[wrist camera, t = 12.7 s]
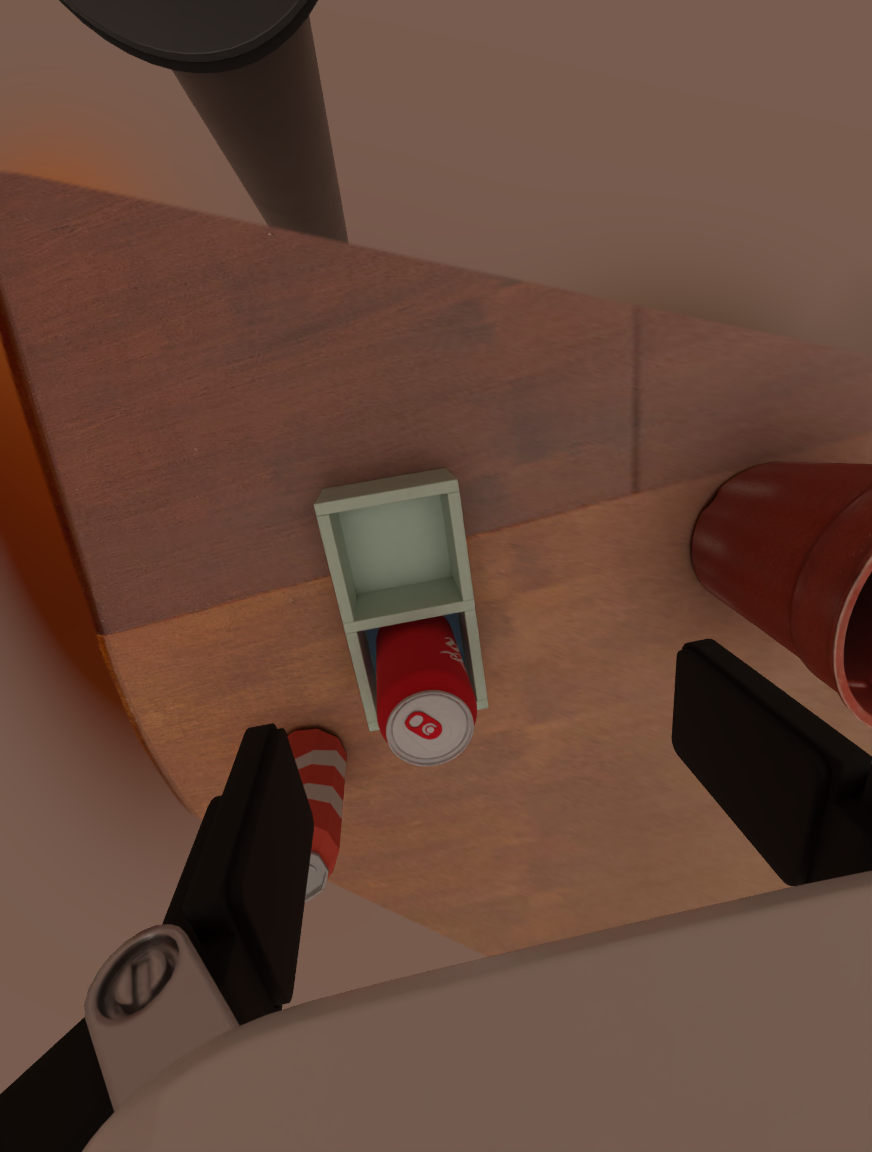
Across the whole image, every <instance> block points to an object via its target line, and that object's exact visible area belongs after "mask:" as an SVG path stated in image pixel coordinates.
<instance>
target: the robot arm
mask: <svg viewBox="0 0 872 1152" xmlns="http://www.w3.org/2000/svg"><path fill="white" fill-rule="evenodd" d="M672 744H673V747H674V749H675V751H676V753H677V755H678V756H679V757H680V758H681V760H682V761H683V762H684V763H685V764H686V766H687V767H688V768H689V769H690V770H691V772H692V773H693V774H694V775H695V776H696V778H697V779H698V780H699V781H700V782H701V784H702V785H703V786H704V787H705V788H706V790H707V791H708V792H709V793H710V794H711V796H712V797H713V798H714V799H715V800H716V802H717V803H718V804H719V805H720V806H721V808H722V809H723V810H724V811H725V812H726V814H727V815H728V816H729V817H730V818H731V820H732V821H733V822H734V823H735V824H736V826H737V827H738V828H739V829H740V830H741V832H742V833H743V834H744V835H745V836H746V838H747V839H748V840H749V841H750V842H751V844H752V845H753V846H754V847H755V848H756V850H757V851H758V852H759V853H760V854H761V856H762V857H763V858H764V859H765V860H766V862H767V863H768V864H769V865H770V866H771V868H772V869H773V870H774V871H775V872H776V874H777V875H778V876H779V877H780V878H781V879H782V880H783V881H784V882H785V883H786V884H787V885H790V886H794V887H790V888H785V889H781V890H777V891H772V892H768V893H763V894H759V895H754V896H750V897H745V898H741V899H737V900H732V901H728V902H723V903H719V904H714V905H710V906H706V907H701V908H697V909H692V910H688V911H683V912H679V913H675V914H670V915H666V916H662V917H657V918H653V919H649V920H644V921H640V922H636V923H631V924H627V925H623V926H618V927H614V928H610V929H605V930H601V931H597V932H592V933H588V934H584V935H580V936H575V937H571V938H567V939H562V940H558V941H554V942H549V943H545V944H541V945H537V946H532V947H528V948H524V949H520V950H515V951H511V952H507V953H503V954H499V955H494V956H490V957H486V958H482V959H478V960H473V961H470V962H465V963H461V964H457V965H452V966H449V967H444V968H440V969H436V970H432V971H427V972H423V973H419V974H415V975H411V976H407V977H403V978H398V979H394V980H390V981H386V982H382V983H379V984H375V985H371V986H367V987H363V988H359V989H355V990H351V991H348V992H344V993H340V994H336V995H332V996H328V997H324V998H320V999H317V1000H313V1001H309V1002H306V1003H303V1004H300V1005H297V1006H293V1007H290V1008H287V1009H284V1010H282V1004H286V1003H290V1001H291V999H292V995H293V989H294V981H295V973H296V965H297V957H298V950H299V942H300V935H301V926H302V918H303V911H304V903H305V896H306V888H307V880H308V872H309V865H310V857H311V849H312V841H313V834H314V819H313V814H312V810H311V807H310V804H309V801H308V798H307V795H306V792H305V789H304V786H303V783H302V780H301V777H300V774H299V771H298V767H297V764H296V761H295V758H294V755H293V752H292V749H291V746H290V743H289V740H288V737H287V734H286V731H285V729H284V728H280V729H277V727H276V726H275V724H273V723H272V724H267V725H262V726H256V727H251V728H248V729H247V730H246V732H245V734H244V737H243V739H242V742H241V745H240V748H239V750H238V753H237V756H236V759H235V761H234V764H233V767H232V770H231V772H230V775H229V778H228V781H227V783H226V786H225V789H224V791H223V794H222V796H217V797H215V798H213V799H212V800H211V802H210V804H209V806H208V808H207V810H206V813H205V816H204V818H203V821H202V823H201V826H200V829H199V831H198V834H197V836H196V839H195V841H194V844H193V847H192V849H191V852H190V854H189V857H188V859H187V862H186V865H185V867H184V870H183V872H182V875H181V877H180V880H179V883H178V885H177V888H176V891H175V893H174V895H173V898H172V901H171V903H170V906H169V908H168V911H167V914H166V916H165V919H164V921H163V924H162V925H156V926H153V927H151V928H148V929H146V930H144V931H141V932H139V933H138V934H136V935H135V936H133V937H132V938H130V939H129V940H127V941H126V942H124V944H122V945H121V946H120V947H119V948H118V949H117V950H116V951H115V952H114V953H113V954H112V955H110V957H109V958H108V959H107V961H106V962H105V963H104V964H103V966H102V967H101V968H100V969H99V971H98V973H97V974H96V976H95V978H94V980H93V982H92V984H91V985H90V987H89V990H88V993H87V997H86V1001H85V1004H84V1007H85V1017H84V1018H83V1019H82V1020H81V1021H80V1022H79V1023H78V1024H77V1025H76V1026H74V1028H72V1029H71V1030H70V1031H69V1032H68V1033H67V1034H66V1035H65V1036H64V1037H63V1038H61V1039H60V1040H59V1041H58V1042H57V1043H56V1044H55V1045H54V1046H53V1047H52V1048H50V1049H49V1050H48V1051H47V1052H46V1053H45V1054H44V1055H43V1056H42V1057H41V1058H40V1059H38V1060H37V1061H36V1062H35V1063H34V1064H33V1065H32V1066H31V1067H30V1068H29V1069H28V1070H26V1071H25V1072H24V1073H23V1074H22V1075H21V1076H20V1077H19V1078H18V1079H17V1080H16V1081H15V1082H13V1083H12V1084H11V1085H10V1086H9V1087H8V1088H7V1089H6V1090H5V1091H4V1092H2V1093H1V1094H0V1152H872V764H871V763H872V756H870V755H869V754H868V753H866V752H865V751H864V750H862V749H861V748H860V747H858V746H857V745H856V744H854V743H853V742H851V741H850V740H849V739H847V738H846V737H845V736H843V735H842V734H841V733H839V732H838V731H837V730H835V729H834V728H832V727H831V726H830V725H828V724H827V723H826V722H824V721H823V720H822V719H820V718H819V717H818V716H816V715H815V714H814V713H812V712H811V711H809V710H808V709H807V708H805V707H804V706H803V705H801V704H800V703H799V702H797V701H796V700H795V699H793V698H792V697H791V696H789V695H788V694H786V693H785V692H784V691H782V690H781V689H780V688H778V687H777V686H776V685H774V684H773V683H772V682H770V681H769V680H767V679H766V678H765V677H763V676H762V675H761V674H759V673H758V672H757V671H755V670H754V669H753V668H751V667H750V666H749V665H747V664H746V663H744V662H743V661H742V660H740V659H739V658H738V657H736V656H735V655H734V654H732V653H731V652H730V651H728V650H727V649H725V648H724V647H723V646H721V645H720V644H719V643H717V642H716V641H714V640H712V639H704V640H699V641H694V642H689V643H686V644H684V646H683V648H682V650H680V651H679V652H678V653H677V660H676V676H675V693H674V709H673V725H672Z"/></svg>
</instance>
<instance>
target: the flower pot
mask: <svg viewBox="0 0 872 1152" xmlns="http://www.w3.org/2000/svg"><path fill="white" fill-rule="evenodd" d="M692 562H693V567H694V570H695V573H696V575H697V577H698V579H699V581H700V582H701V584H702V585H703V586H704V587H705V588H706V589H707V590H708V591H709V592H710V593H712V594H713V595H714V596H715V597H717V598H718V599H720V600H721V601H723V602H724V603H725V604H727V605H728V606H730V607H731V608H732V609H734V610H735V611H736V612H738V613H739V614H741V615H742V616H743V617H745V618H746V619H747V620H749V621H750V622H751V623H753V624H754V625H756V626H757V627H758V628H760V629H761V630H762V631H764V632H765V633H766V634H768V635H769V636H770V637H772V638H773V639H775V640H776V641H777V642H779V643H780V644H781V645H783V646H784V647H785V648H787V649H788V650H790V651H791V652H792V653H794V654H795V655H796V656H798V657H799V658H800V659H801V660H802V662H803V663H804V664H805V666H806V667H807V668H808V669H809V670H810V671H811V672H812V673H813V674H814V675H815V676H816V677H818V678H819V679H820V680H822V681H823V682H824V683H826V684H827V685H828V686H830V687H831V688H832V689H834V690H835V691H836V692H837V693H838V694H839V696H840V698H841V700H842V701H843V703H844V704H845V706H846V707H847V708H848V709H849V710H850V711H851V712H852V713H853V714H854V715H855V716H856V717H857V718H858V719H859V720H860V721H861V722H863V723H864V724H866V725H867V726H869V727H871V728H872V464H845V463H806V462H771V463H765V464H761V465H757V466H754V467H751V468H749V469H747V470H745V471H743V472H741V473H739V474H737V475H736V476H734V477H733V478H731V479H730V480H729V481H727V482H726V483H725V484H724V485H723V486H721V487H720V488H719V490H718V494H717V496H716V497H715V499H714V500H713V502H712V503H711V504H710V505H709V506H708V507H707V508H706V509H705V510H704V511H702V513H701V514H700V516H699V519H698V521H697V523H696V526H695V530H694V534H693V538H692Z"/></svg>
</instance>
